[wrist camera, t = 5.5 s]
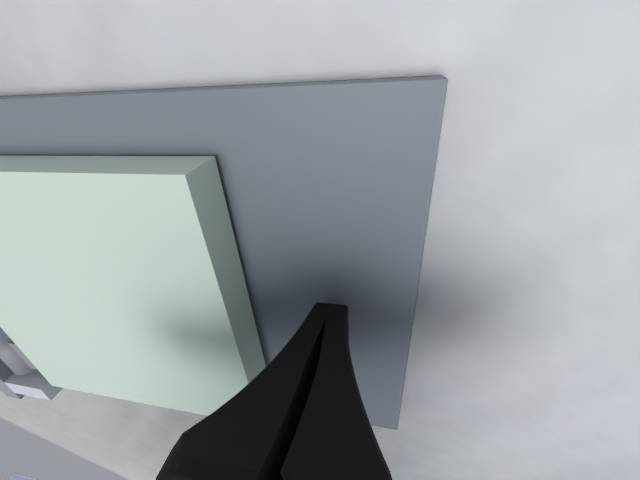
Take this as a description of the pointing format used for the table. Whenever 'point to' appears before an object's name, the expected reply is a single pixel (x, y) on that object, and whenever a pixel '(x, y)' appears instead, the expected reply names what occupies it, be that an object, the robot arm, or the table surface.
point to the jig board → (282, 197)
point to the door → (125, 279)
